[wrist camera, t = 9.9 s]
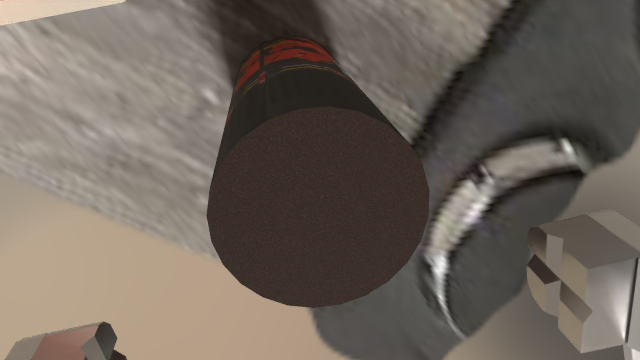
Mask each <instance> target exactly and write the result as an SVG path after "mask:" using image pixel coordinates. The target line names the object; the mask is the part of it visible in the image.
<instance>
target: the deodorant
mask: <svg viewBox="0 0 640 360" xmlns="http://www.w3.org/2000/svg"><path fill="white" fill-rule="evenodd" d="M428 215H429V188H428V184H427V180H426V176H425V173H424V169H423V165H422V164H421V162H420V160H419V159H418V157H417V156H416V154H415V152H414V151H413V149H412V148H411V146H410V144H409V143H408V142H407V141H406V139H405V138H404V137H403V136H402V135H401V134H400V133H399V132H398V130H397V129H396V128H395V127H394V126H393V125H392V124H391V123H390V121H389V120H388V119H387V118H386V117H385V116H384V115H383V114H382V113H381V111H380V110H379V109H378V108H377V107H376V106H375V105H374V104H373V102H372V101H371V100H370V99H369V98H368V97H367V96H366V95H365V94H364V92H363V91H362V90H361V89H360V88H359V87H358V86H357V85H356V83H355V82H354V81H353V80H352V79H351V78H350V77H349V76H348V74H347V73H346V72H345V71H344V70H343V69H342V68H341V67H340V66H339V64H338V63H337V62H336V61H335V60H334V59H333V58H332V57H331V55H330V54H328V53H327V52H326V51H325V50H324V49H323V48H322V47H321V46H319V45H318V44H316V43H314V42H312V41H310V40H308V39H304V38H299V37H294V36H287V37H277V38H274V39H271V40H269V41H266V42H263V43H262V44H261V45H259V46H258V47H256V48H255V49H254V50H252V51H251V52H250V54H249V55H248V56H247V57H246V59H245V60H244V61H243V63H242V65H241V67H240V70H239V72H238V75H237V78H236V82H235V86H234V90H233V94H232V99H231V103H230V107H229V111H228V115H227V119H226V124H225V128H224V132H223V136H222V140H221V144H220V148H219V153H218V157H217V161H216V165H215V169H214V173H213V178H212V182H211V186H210V192H209V200H208V209H207V220H208V226H209V231H210V236H211V242H212V244H213V246H214V248H215V250H216V252H217V253H218V255H219V257H220V259H221V261H222V263H223V265H224V266H225V267H226V268H227V269H228V270H229V271H230V273H231V274H232V275H233V276H234V277H235V278H236V279H237V280H238V281H239V282H240V283H241V284H242V285H244V286H246V287H248V288H249V289H250V290H252V291H254V292H255V293H257V294H259V295H260V296H262V297H264V298H267V299H270V300H273V301H276V302H279V303H282V304H285V305H290V306H301V307H312V308H316V307H323V306H331V305H339V304H343V303H346V302H348V301H351V300H354V299H357V298H359V297H362V296H365V295H367V294H369V293H370V292H372V291H373V290H375V289H377V288H378V287H380V286H382V285H383V284H385V283H386V282H388V281H389V280H390V279H391V278H392V277H393V276H394V275H395V274H396V273H397V272H398V271H399V270H400V269H401V268H402V267H403V266H404V265H405V264H406V263H407V262H408V261H409V259H410V257H411V256H412V254H413V253H414V251H415V249H416V248H417V246H418V245H419V243H420V241H421V239H422V235H423V232H424V229H425V226H426V223H427V219H428Z"/></svg>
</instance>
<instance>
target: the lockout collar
mask: <svg viewBox="0 0 640 360" xmlns="http://www.w3.org/2000/svg"><path fill="white" fill-rule="evenodd" d="M122 2H128V1H127V0H0V25H6V24H11V23H16V22H22V21H27V20H32V19H37V18H43V17H48V16H53V15H59V14H64V13H69V12H75V11H80V10H85V9H91V8H96V7H101V6H106V5H112V4H117V3H122Z"/></svg>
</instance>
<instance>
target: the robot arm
mask: <svg viewBox="0 0 640 360" xmlns="http://www.w3.org/2000/svg"><path fill="white" fill-rule="evenodd" d="M527 246H528V247H529V248H530V249H531V250H532V251H533V252H534V256H533V257H532V259H531V260H530V262H529V263H528V265H527V280H528V283H529V286H530V290H531V293H532V295H533V296H534V298H535V300H536V302H537V303H538V305H539V306H540V307H541V308H542V309H543V310H544V311H545V312H546V313H549V314H551V315H554V316H556V317H559V329H560V330H561V331H562V332H563V333H564V335H566V337H567V338H568V339H569V340H570V341H571V342H572V344H573V345H574V346H575V347H576V348H577V349H578V350H579V351H580V352H581V353H584V352H589V351H594V350H599V349H603V348H608V347H613V346H618V345H623V350H624V358H625V360H640V227H639V226H637V225H636V224H634V223H632V222H631V221H629V220H628V219H626V218H625V217H623V216H621V215H620V214H618V213H617V212H615V211H614V210H610V209H601V210H598V211H594V212H590V213H586V214H582V215H580V216H577V217H572V218H568V219H564V220H560V221H555V222H551V223H547V224H542V225H538V226H534V227H530V230H529V233H528V240H527ZM116 340H117V336H116V335H115V333H114V331H113V329H112V327H111V325H110V324H108V323H106V322H100V323H95V324H90V325H84V326H80V327H75V328H70V329H65V330H60V331H55V332H51V333H45V334H41V335H36V336H32V337H27V338H23V339H21V340H20V341H18V342H16V343H15V345H14V346H13V348H12V349H11V351H10V353H9V354H8V355H7V357H6V359H5V360H127V359H126V357H125V356H124V355H122V354H121V353H119V352H117V351H115V350H114V346H115V343H116Z"/></svg>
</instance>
